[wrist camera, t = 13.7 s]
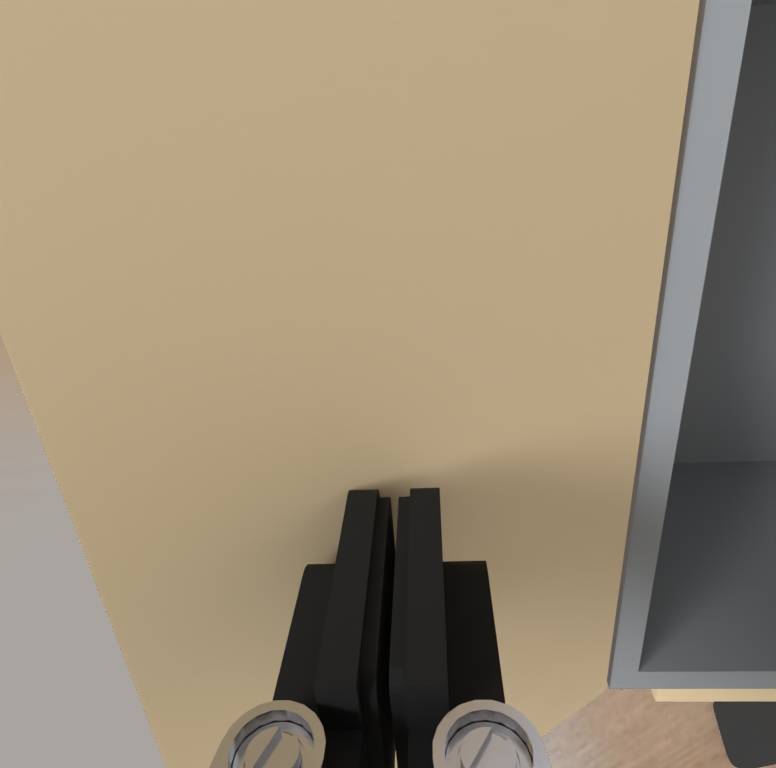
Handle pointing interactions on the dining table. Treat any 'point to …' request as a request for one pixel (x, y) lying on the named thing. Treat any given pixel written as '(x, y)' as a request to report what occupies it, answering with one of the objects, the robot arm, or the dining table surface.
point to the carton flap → (337, 308)
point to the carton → (711, 393)
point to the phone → (748, 731)
